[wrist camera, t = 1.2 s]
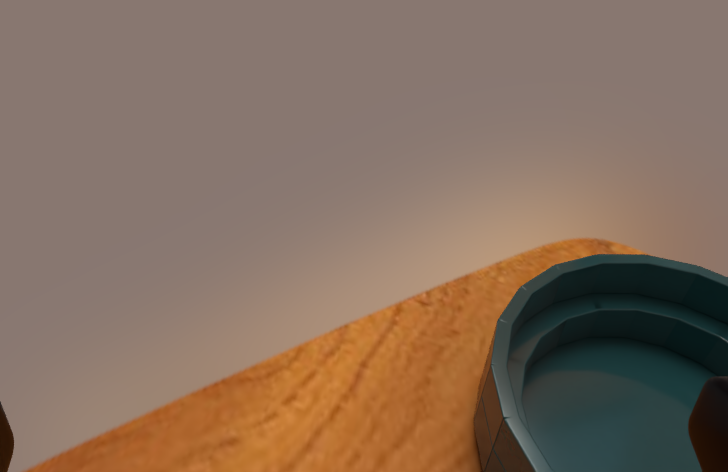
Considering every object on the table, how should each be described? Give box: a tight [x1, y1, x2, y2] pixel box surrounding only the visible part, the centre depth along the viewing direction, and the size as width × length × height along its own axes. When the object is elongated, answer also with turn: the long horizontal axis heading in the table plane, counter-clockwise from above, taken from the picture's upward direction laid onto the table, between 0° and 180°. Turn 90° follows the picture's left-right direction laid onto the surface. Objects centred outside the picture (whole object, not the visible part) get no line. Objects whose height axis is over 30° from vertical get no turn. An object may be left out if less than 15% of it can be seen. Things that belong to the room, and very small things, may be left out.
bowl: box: [474, 254, 728, 472], centre depth 24 cm, size 14×14×4 cm
